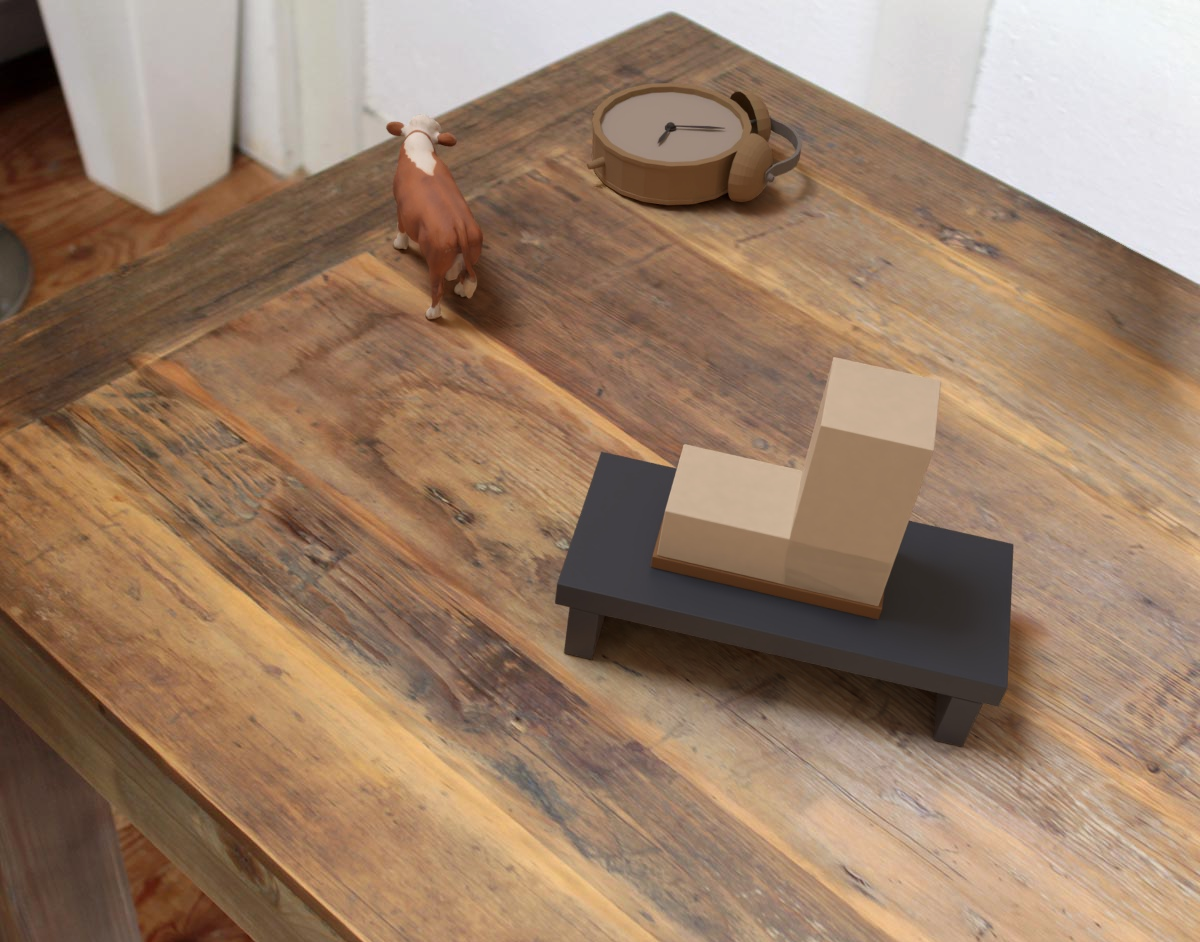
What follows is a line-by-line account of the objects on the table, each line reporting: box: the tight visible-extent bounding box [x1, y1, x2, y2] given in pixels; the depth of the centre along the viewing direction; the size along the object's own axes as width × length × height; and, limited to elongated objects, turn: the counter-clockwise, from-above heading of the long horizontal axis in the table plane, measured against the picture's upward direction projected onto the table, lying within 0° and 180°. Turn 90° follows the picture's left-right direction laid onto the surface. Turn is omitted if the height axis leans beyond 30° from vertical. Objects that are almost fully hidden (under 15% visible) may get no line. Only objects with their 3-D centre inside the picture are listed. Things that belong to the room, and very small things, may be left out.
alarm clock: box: [586, 82, 803, 206], centre depth 106 cm, size 11×5×15 cm
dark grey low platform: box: [554, 451, 1014, 748], centre depth 76 cm, size 22×10×5 cm, turn 77°
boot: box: [651, 356, 942, 620], centre depth 70 cm, size 11×5×11 cm, turn 77°
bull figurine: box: [385, 114, 484, 320], centre depth 93 cm, size 4×13×8 cm, turn 16°
